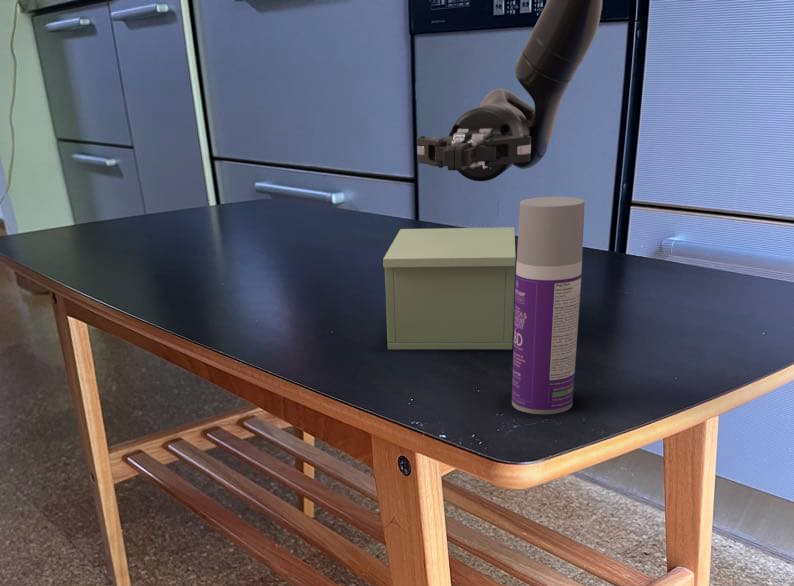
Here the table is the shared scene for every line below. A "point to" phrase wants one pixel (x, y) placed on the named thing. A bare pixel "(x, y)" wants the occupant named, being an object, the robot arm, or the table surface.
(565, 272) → the container
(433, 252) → the lid
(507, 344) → the chest
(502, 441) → the table surface
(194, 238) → the table surface
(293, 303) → the table surface
